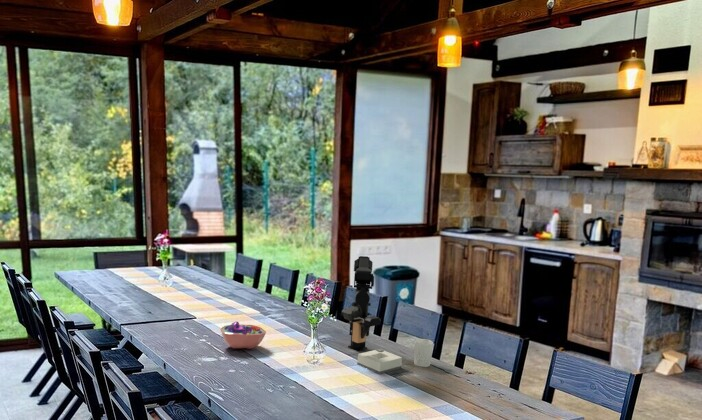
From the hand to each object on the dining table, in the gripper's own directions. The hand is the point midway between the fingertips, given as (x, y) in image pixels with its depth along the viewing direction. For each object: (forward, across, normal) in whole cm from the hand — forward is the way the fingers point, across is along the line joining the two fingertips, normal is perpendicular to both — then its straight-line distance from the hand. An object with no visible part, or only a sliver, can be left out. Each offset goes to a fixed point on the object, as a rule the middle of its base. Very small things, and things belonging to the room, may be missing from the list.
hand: (359, 337), depth 227 cm
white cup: (+12, +14, +25) cm, 31 cm away
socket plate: (+12, +6, +7) cm, 15 cm away
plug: (+2, 0, 0) cm, 2 cm away
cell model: (+12, -42, -31) cm, 53 cm away
